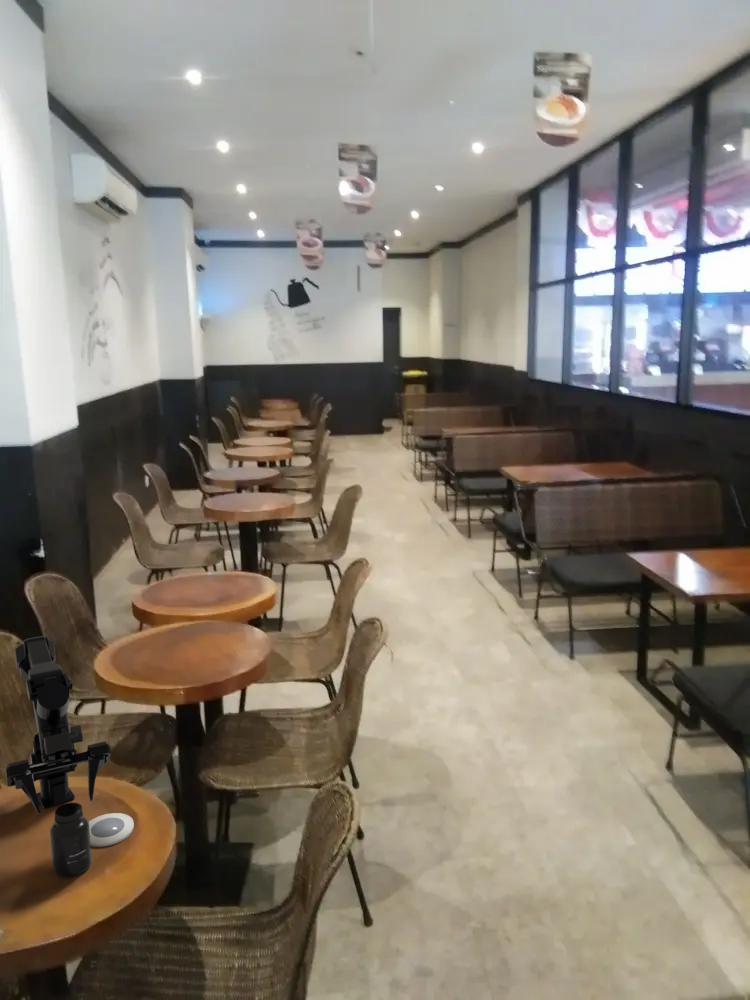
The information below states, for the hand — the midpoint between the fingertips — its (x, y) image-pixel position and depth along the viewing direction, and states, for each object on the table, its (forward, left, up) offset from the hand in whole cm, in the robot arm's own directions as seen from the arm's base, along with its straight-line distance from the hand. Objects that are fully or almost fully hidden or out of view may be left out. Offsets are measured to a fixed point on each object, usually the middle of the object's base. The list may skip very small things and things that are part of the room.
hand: (65, 807), depth 148 cm
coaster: (-4, +8, -10) cm, 14 cm away
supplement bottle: (+3, 0, -11) cm, 11 cm away
